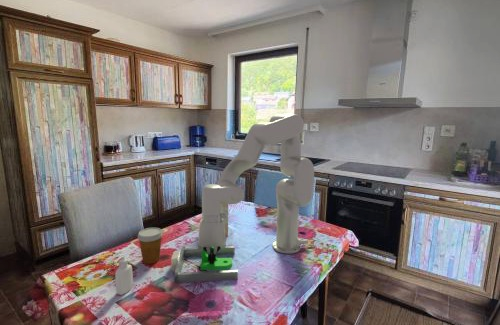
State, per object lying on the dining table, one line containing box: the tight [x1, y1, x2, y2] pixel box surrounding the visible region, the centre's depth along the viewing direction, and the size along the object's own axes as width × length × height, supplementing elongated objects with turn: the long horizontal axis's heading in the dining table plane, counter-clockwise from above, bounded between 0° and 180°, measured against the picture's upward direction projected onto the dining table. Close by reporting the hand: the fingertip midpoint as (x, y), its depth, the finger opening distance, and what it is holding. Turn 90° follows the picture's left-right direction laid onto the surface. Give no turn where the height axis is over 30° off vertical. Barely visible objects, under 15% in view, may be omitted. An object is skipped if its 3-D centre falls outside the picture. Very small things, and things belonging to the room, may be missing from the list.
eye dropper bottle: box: [114, 255, 134, 296], centre depth 87 cm, size 4×6×12 cm
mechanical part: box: [200, 247, 233, 271], centre depth 103 cm, size 12×6×8 cm, turn 95°
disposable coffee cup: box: [137, 227, 164, 265], centre depth 106 cm, size 10×10×12 cm
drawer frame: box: [170, 245, 239, 284], centre depth 102 cm, size 24×20×5 cm
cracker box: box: [222, 204, 229, 237], centre depth 133 cm, size 14×6×21 cm, turn 27°
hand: (211, 262), depth 102 cm, fingers closed
